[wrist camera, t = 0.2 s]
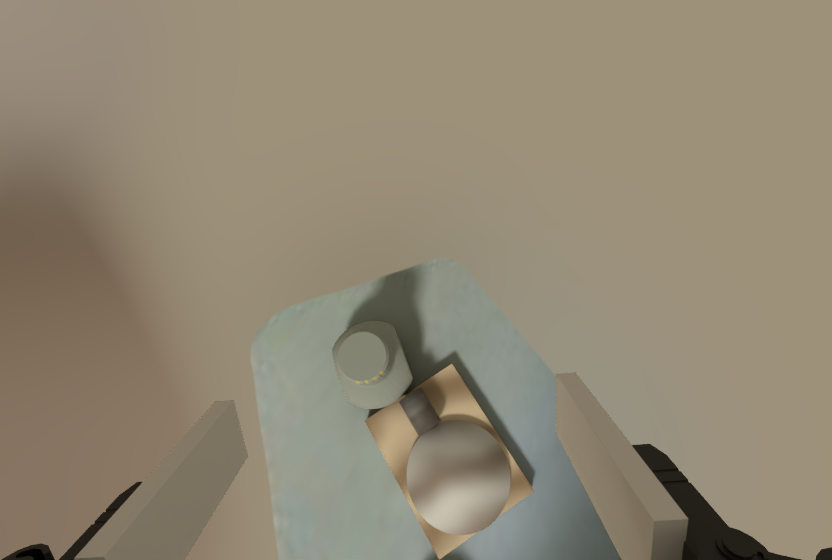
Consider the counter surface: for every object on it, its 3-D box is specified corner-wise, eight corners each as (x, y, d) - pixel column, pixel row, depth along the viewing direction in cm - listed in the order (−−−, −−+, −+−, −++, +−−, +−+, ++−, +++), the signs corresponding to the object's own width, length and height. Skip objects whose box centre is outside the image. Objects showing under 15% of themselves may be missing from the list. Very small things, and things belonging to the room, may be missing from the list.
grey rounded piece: (419, 394, 49) (414, 390, 40) (359, 418, 49) (340, 419, 40) (391, 317, 53) (381, 297, 44) (335, 339, 52) (312, 323, 43)
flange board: (531, 488, 45) (541, 496, 41) (439, 554, 44) (439, 571, 39) (451, 365, 50) (452, 360, 46) (366, 420, 49) (359, 421, 44)
